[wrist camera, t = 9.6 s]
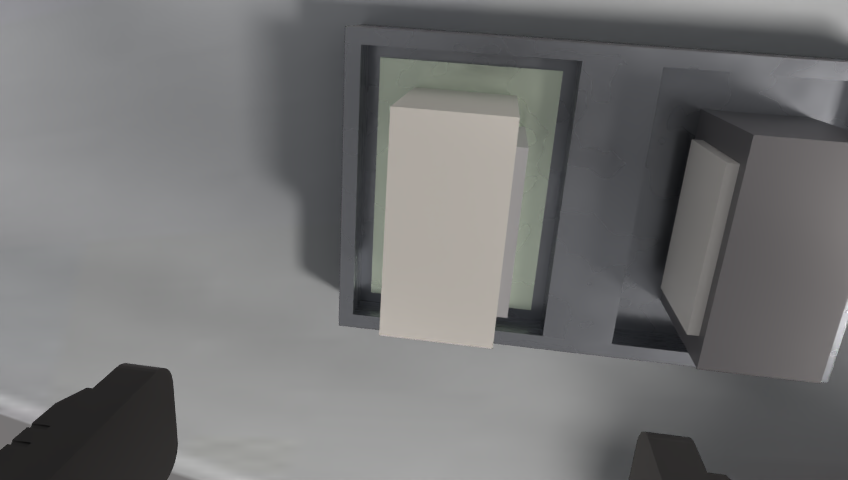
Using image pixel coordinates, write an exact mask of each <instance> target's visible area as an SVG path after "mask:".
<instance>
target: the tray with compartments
mask: <svg viewBox="0 0 848 480" xmlns="http://www.w3.org/2000/svg"><path fill="white" fill-rule="evenodd" d="M414 87H417V88H429V89H441V90H454V91H466V92H478V93H490V94H502V95H514V96H517V98H518V106H519V114H520V121H519V126H520V127H525V129H526V135H527V141H528V147H529V149H528V157H527V165H526V173H525V181H524V189H523V197H522V205H521V213H520V221H519V229H518V237H517V245H516V253H515V261H514V269H513V277H512V285H511V293H510V301H509V309H508V317H507V318H503V317H496V325H495V333H494V342H493V343H495V344H503V345H512V346H520V347H529V348H537V349H546V350H554V351H563V352H572V353H580V354H589V355H597V356H606V357H614V358H623V359H632V360H640V361H649V362H657V363H666V364H674V365H683V366H692V367H696V366H695V364H694V363H693V361H692V359H691V357H690V355H689V353H688V351H687V349H686V348H685V346H684V344H683V342H682V340H681V338H680V336H679V334H678V333H677V331H676V329H675V327H674V325H673V323H672V321H671V320H670V318H669V316H668V314H667V312H666V310H665V308H664V306H663V305H662V303H661V296H662V289H661V284H662V279H663V274H664V269H665V265H666V260H667V255H668V250H669V245H670V241H671V236H672V231H673V226H674V222H675V217H676V212H677V207H678V202H679V198H680V193H681V188H682V183H683V179H684V174H685V169H686V164H687V160H688V155H689V150H690V145H691V140H692V139H695V135H696V130H697V125H698V121H699V116H700V111H701V109H707V110H720V111H732V112H745V113H757V114H770V115H782V116H795V117H807V118H814V119H817V120H820V121H823V122H825V123H828V124H831V125H834V126H837V127H840V128H843V129H846V130H848V60H843V59H829V58H816V57H802V56H788V55H774V54H760V53H746V52H732V51H718V50H704V49H690V48H676V47H662V46H649V45H635V44H621V43H607V42H593V41H579V40H565V39H551V38H537V37H523V36H509V35H496V34H482V33H468V32H454V31H440V30H426V29H412V28H398V27H384V26H370V25H352V26H345V60H344V107H343V154H342V202H341V249H340V296H339V325H340V326H349V327H357V328H366V329H375V330H379V329H380V308H381V288H382V267H383V247H384V226H385V205H386V185H387V164H388V144H389V123H390V106H391V105H393V104H394V103H395V102H396V101H398V100H399V99H400V98H401V97H403V96H404V95H405V94H407V93H408V92H409V91H410V90H412V89H413V88H414ZM847 323H848V299H847V303H846V306H845V309H844V312H843V315H842V318H841V321H840V324H839V327H838V331H837V334H836V337H835V340H834V343H833V346H832V349H831V352H830V355H829V359H828V362H827V365H826V368H825V371H824V374H823V377H822V380H821V382H828V381H829V378H830V375H831V372H832V369H833V366H834V363H835V360H836V357H837V353H838V350H839V347H840V344H841V341H842V338H843V335H844V332H845V329H846V326H847Z"/></svg>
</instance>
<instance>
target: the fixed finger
mask: <svg viewBox="0 0 848 480" xmlns="http://www.w3.org/2000/svg"><path fill="white" fill-rule="evenodd" d="M661 289H662V296H661V303H662V305H663V306H664V308H665V310H666V312H667V314H668V316H669V318H670V320H671V321H672V323H673V325H674V327H675V329H676V331H677V333H678V334H679V336H680V338H681V340H682V342H683V344H684V346H685V348H686V349H687V351H688V353H689V355H690V357H691V359H692V361H693V363H694V364H695V366H696V368H697V369H701V370H709V371H718V372H726V373H735V374H743V375H752V376H760V377H769V378H778V379H786V380H795V381H803V382H812V383H821V380H822V377H823V374H824V371H825V368H826V365H827V362H828V359H829V355H830V352H831V349H832V346H833V343H834V340H835V337H836V334H837V331H838V327H839V324H840V321H841V318H842V315H843V312H844V309H845V306H846V303H847V299H848V130H846V129H843V128H840V127H837V126H834V125H831V124H828V123H825V122H823V121H820V120H817V119H814V118H807V117H795V116H782V115H770V114H757V113H745V112H732V111H720V110H707V109H701V111H700V116H699V121H698V125H697V130H696V135H695V139H692V140H691V145H690V150H689V155H688V160H687V164H686V169H685V174H684V179H683V183H682V188H681V193H680V198H679V202H678V207H677V212H676V217H675V222H674V226H673V231H672V236H671V241H670V245H669V250H668V255H667V260H666V265H665V269H664V274H663V279H662V284H661Z"/></svg>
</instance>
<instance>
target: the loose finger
mask: <svg viewBox="0 0 848 480" xmlns="http://www.w3.org/2000/svg"><path fill="white" fill-rule="evenodd" d="M519 121H520V114H519V106H518V98H517V96H514V95H502V94H490V93H478V92H466V91H454V90H441V89H429V88H417V87H414V88H413V89H412V90H410V91H409V92H408V93H407V94H405V95H404V96H403V97H401V98H400V99H399V100H398V101H396V102H395V103H394V104H393V105H391V106H390V123H389V144H388V164H387V185H386V205H385V226H384V247H383V267H382V288H381V308H380V329H379V335H381V336H389V337H397V338H406V339H414V340H422V341H431V342H439V343H448V344H456V345H464V346H473V347H481V348H489V349H493V342H494V333H495V325H496V317H503V318H507V317H508V309H509V301H510V293H511V285H512V277H513V269H514V261H515V253H516V245H517V237H518V229H519V221H520V213H521V205H522V197H523V189H524V181H525V173H526V165H527V157H528V149H529V147H528V141H527V135H526V129H525V127H520V126H519Z"/></svg>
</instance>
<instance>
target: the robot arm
mask: <svg viewBox="0 0 848 480" xmlns="http://www.w3.org/2000/svg"><path fill="white" fill-rule="evenodd" d="M177 447H178V439H177V427H176V414H175V401H174V389H173V379H172V375H171V373H170V371H169V370H168V369H166V368H159V367H151V366H143V365H136V364H128V363H124V364H121V365H119V366H118V367H116V368H115V369H114V370H113V371H112V372H111V373H110V374H108V375H107V376H106V377H105V378H104V379H103V380H102V381H101V382H99V383H98V384H97V385H96V386H95V387H94V388H93V389H92V388H86V389H84V390H81V391H79V392H77V393H75V394H73V395H71V396H69V397H67V398H65V399H63V400H61V401H59V402H57V403H55V404H54V405H53V406H52V407H51V408H49V409H48V410H47V411H46V412H45V413H44V414H42V415H41V416H40V417H39V418H38V419H36V420H35V421H34V422H33V423H32V426H31V428H29V427H28V428H26V429H25V430H23V431H22V432H21V433H20V434H19V435H18V436H16V437H15V438H14V439H13V440H12V444H11V445H9V444H7V445H6V446H5V447H3V448H2V449H1V450H0V480H167V479H168V477H169V475H170V473H171V471H172V469H173V466H174V463H175V459H176V455H177ZM629 480H730V479H729V478H728V477H727V476H726V475H722V474H714V473H707V471H706V469H705V466H704V464H703V462H702V460H701V457H700V455H699V453H698V450H697V448H696V446H695V443H694V441H693V440H692V439H691V438H689V437H682V436H674V435H666V434H659V433H651V432H641V434H640V435H639V437H638V440H637V444H636V449H635V453H634V458H633V463H632V468H631V472H630V477H629Z"/></svg>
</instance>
